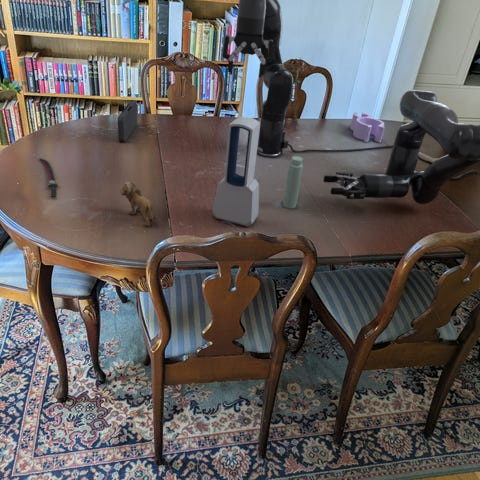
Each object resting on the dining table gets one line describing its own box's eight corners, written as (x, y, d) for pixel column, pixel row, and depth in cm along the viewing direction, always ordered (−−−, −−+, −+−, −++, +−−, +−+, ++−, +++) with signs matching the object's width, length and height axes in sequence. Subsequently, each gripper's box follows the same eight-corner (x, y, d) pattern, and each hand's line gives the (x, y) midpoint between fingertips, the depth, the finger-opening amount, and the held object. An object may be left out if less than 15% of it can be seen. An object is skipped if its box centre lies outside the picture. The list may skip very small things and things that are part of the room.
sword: (61, 197, 141) (61, 193, 140) (50, 198, 139) (50, 194, 139) (49, 160, 164) (48, 156, 163) (39, 160, 163) (39, 157, 162)
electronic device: (258, 217, 142) (270, 121, 125) (250, 229, 135) (262, 130, 119) (220, 208, 144) (227, 113, 128) (210, 219, 138) (217, 120, 122)
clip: (343, 126, 223) (346, 112, 219) (367, 127, 225) (371, 113, 221) (360, 142, 206) (364, 127, 202) (386, 142, 209) (390, 127, 205)
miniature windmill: (295, 130, 212) (306, 61, 195) (276, 127, 213) (286, 58, 196) (297, 124, 219) (308, 57, 203) (279, 121, 220) (288, 54, 204)
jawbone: (444, 169, 189) (445, 165, 188) (396, 154, 200) (397, 150, 198) (451, 162, 195) (453, 157, 194) (405, 147, 205) (406, 143, 204)
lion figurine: (118, 210, 138) (116, 182, 133) (132, 204, 141) (131, 177, 137) (151, 229, 130) (150, 201, 126) (165, 223, 134) (165, 195, 129)
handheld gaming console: (131, 122, 200) (130, 99, 195) (137, 123, 200) (136, 100, 195) (117, 142, 181) (116, 117, 175) (124, 142, 181) (123, 117, 176)
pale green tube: (289, 201, 153) (297, 154, 144) (298, 206, 150) (307, 159, 142) (280, 204, 151) (287, 157, 142) (289, 209, 148) (297, 162, 139)
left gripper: (225, 14, 125) (220, 76, 134) (277, 19, 125) (270, 81, 134) (226, 10, 131) (222, 70, 140) (276, 15, 132) (269, 74, 141)
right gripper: (370, 166, 155) (323, 164, 152) (386, 185, 143) (336, 184, 140) (365, 186, 159) (319, 185, 156) (380, 207, 147) (331, 206, 145)
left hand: (245, 75), depth 137 cm, fingers open, 8 cm apart
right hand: (327, 184), depth 148 cm, fingers open, 8 cm apart
